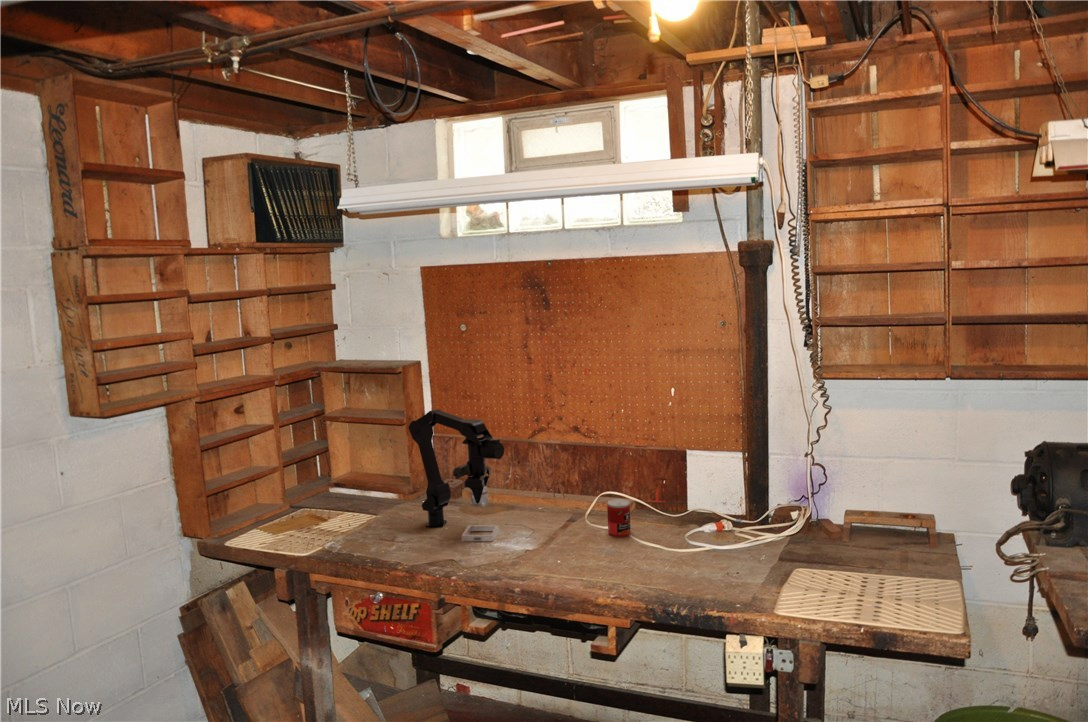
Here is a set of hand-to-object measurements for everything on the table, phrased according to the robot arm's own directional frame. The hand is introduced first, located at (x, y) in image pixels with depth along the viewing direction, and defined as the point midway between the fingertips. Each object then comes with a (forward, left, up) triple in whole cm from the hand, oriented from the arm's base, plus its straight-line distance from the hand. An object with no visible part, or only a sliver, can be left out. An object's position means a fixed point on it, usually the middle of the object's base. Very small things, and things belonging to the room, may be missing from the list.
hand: (479, 500), depth 279 cm
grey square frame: (+3, 0, -12) cm, 12 cm away
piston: (0, 0, -1) cm, 1 cm away
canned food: (0, +48, -12) cm, 50 cm away
